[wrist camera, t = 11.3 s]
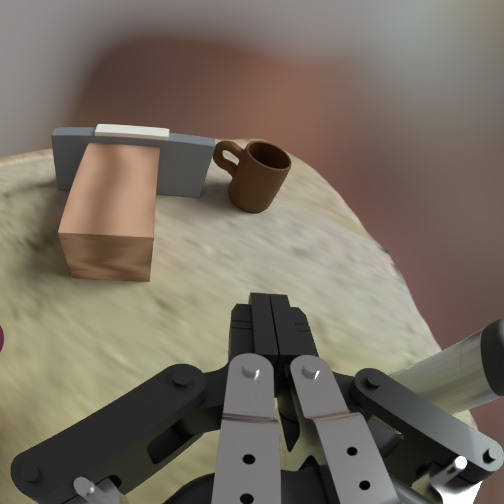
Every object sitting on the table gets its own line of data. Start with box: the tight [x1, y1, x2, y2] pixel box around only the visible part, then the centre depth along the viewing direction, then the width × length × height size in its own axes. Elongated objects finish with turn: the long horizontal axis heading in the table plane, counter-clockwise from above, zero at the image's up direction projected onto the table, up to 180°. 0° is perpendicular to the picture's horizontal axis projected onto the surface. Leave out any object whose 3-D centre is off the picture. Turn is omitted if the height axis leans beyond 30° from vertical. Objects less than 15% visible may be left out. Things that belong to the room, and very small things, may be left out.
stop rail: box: [51, 124, 215, 198], centre depth 37 cm, size 23×7×11 cm, turn 101°
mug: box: [213, 141, 291, 212], centre depth 44 cm, size 12×8×9 cm, turn 83°
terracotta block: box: [58, 143, 160, 282], centre depth 32 cm, size 10×15×9 cm, turn 11°
